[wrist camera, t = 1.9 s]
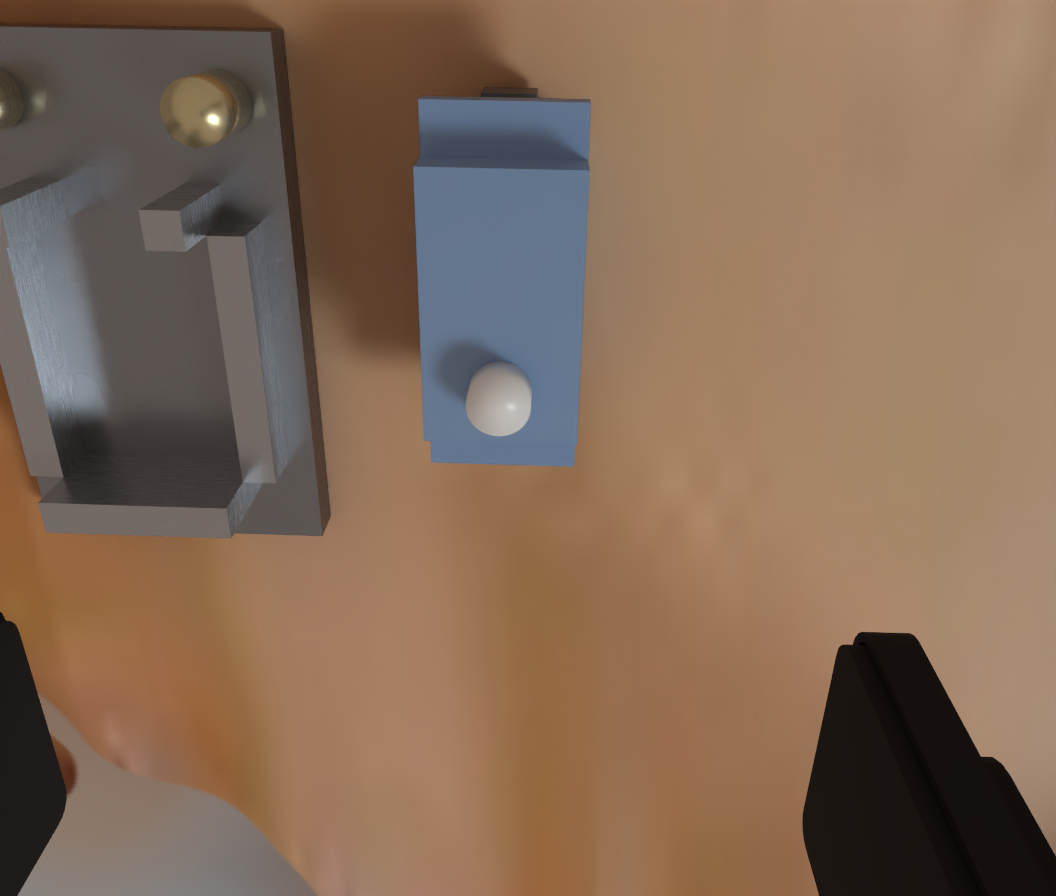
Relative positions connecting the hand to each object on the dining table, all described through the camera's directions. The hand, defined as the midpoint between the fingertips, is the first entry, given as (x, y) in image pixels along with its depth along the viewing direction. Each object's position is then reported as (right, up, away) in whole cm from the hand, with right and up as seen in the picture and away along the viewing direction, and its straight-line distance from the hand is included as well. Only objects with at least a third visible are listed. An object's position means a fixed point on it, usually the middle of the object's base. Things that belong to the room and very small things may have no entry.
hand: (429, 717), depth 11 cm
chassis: (-10, +8, +17) cm, 21 cm away
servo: (+1, +9, +16) cm, 19 cm away
